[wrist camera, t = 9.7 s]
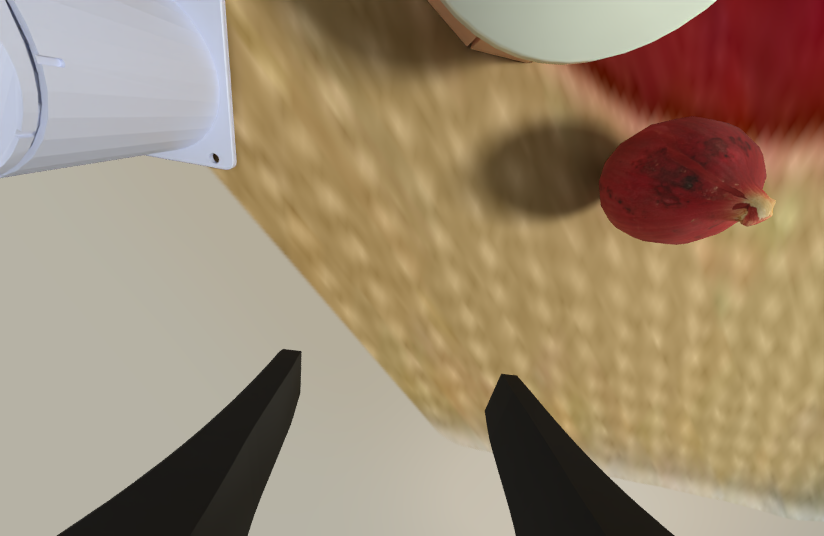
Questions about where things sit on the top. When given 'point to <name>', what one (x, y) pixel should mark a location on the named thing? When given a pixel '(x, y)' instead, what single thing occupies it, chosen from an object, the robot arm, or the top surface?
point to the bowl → (468, 33)
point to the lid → (572, 25)
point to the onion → (684, 181)
